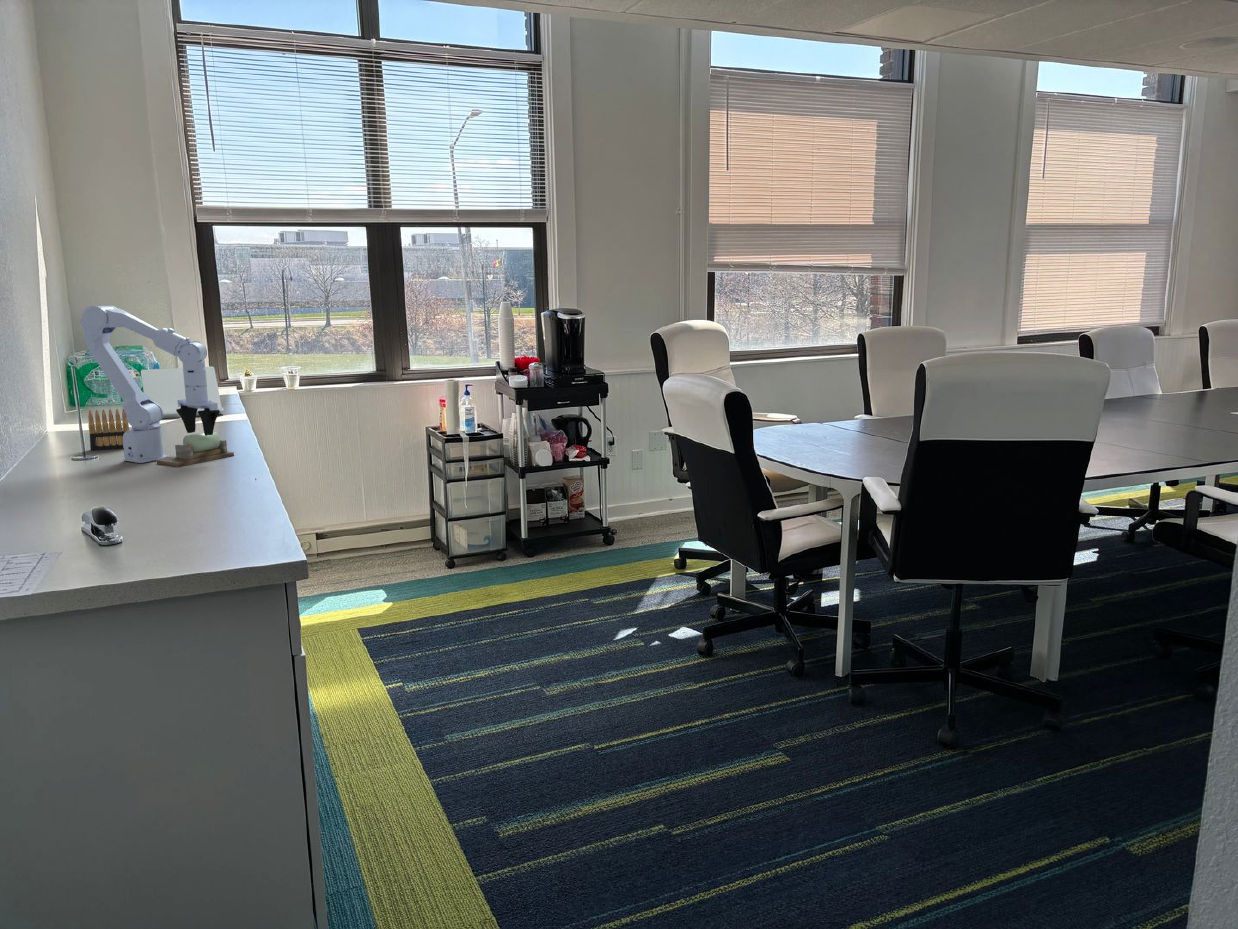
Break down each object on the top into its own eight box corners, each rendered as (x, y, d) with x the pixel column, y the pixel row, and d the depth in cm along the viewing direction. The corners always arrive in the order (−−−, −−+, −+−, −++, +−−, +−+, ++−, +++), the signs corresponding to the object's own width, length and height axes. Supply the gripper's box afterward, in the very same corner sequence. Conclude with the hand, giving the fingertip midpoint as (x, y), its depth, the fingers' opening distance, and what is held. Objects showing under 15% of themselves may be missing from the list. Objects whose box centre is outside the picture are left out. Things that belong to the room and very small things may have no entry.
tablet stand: (144, 414, 340) (139, 369, 337) (216, 409, 353) (212, 365, 350) (149, 421, 325) (144, 373, 322) (224, 416, 338) (220, 370, 334)
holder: (177, 466, 248) (176, 450, 247) (156, 463, 252) (155, 447, 251) (234, 455, 263) (232, 440, 262) (213, 452, 267) (211, 437, 267)
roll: (195, 455, 255) (194, 436, 253) (183, 452, 257) (182, 434, 256) (220, 450, 261) (219, 432, 260) (208, 447, 264) (207, 430, 263)
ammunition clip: (90, 450, 270) (85, 410, 268) (91, 449, 272) (86, 409, 269) (131, 448, 274) (127, 408, 272) (131, 447, 276) (127, 407, 274)
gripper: (225, 385, 255) (229, 433, 258) (191, 382, 262) (195, 429, 265) (203, 388, 249) (207, 437, 252) (169, 385, 256) (173, 433, 259)
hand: (200, 433), depth 258 cm, fingers open, 7 cm apart
